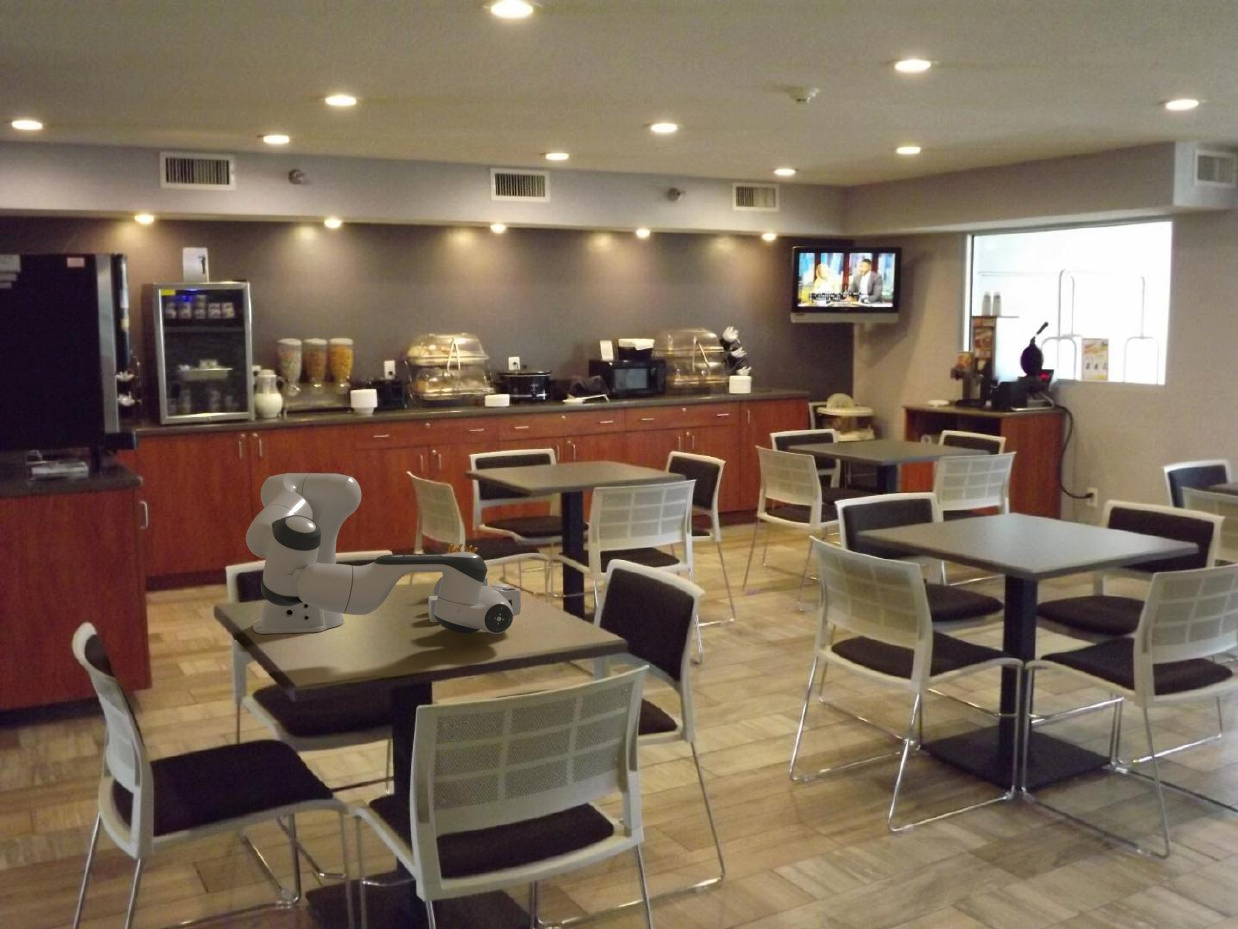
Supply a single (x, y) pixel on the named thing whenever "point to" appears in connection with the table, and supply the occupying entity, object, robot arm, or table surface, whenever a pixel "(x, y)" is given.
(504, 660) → the table surface
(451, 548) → the french fries
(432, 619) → the grey cube
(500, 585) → the white canister
